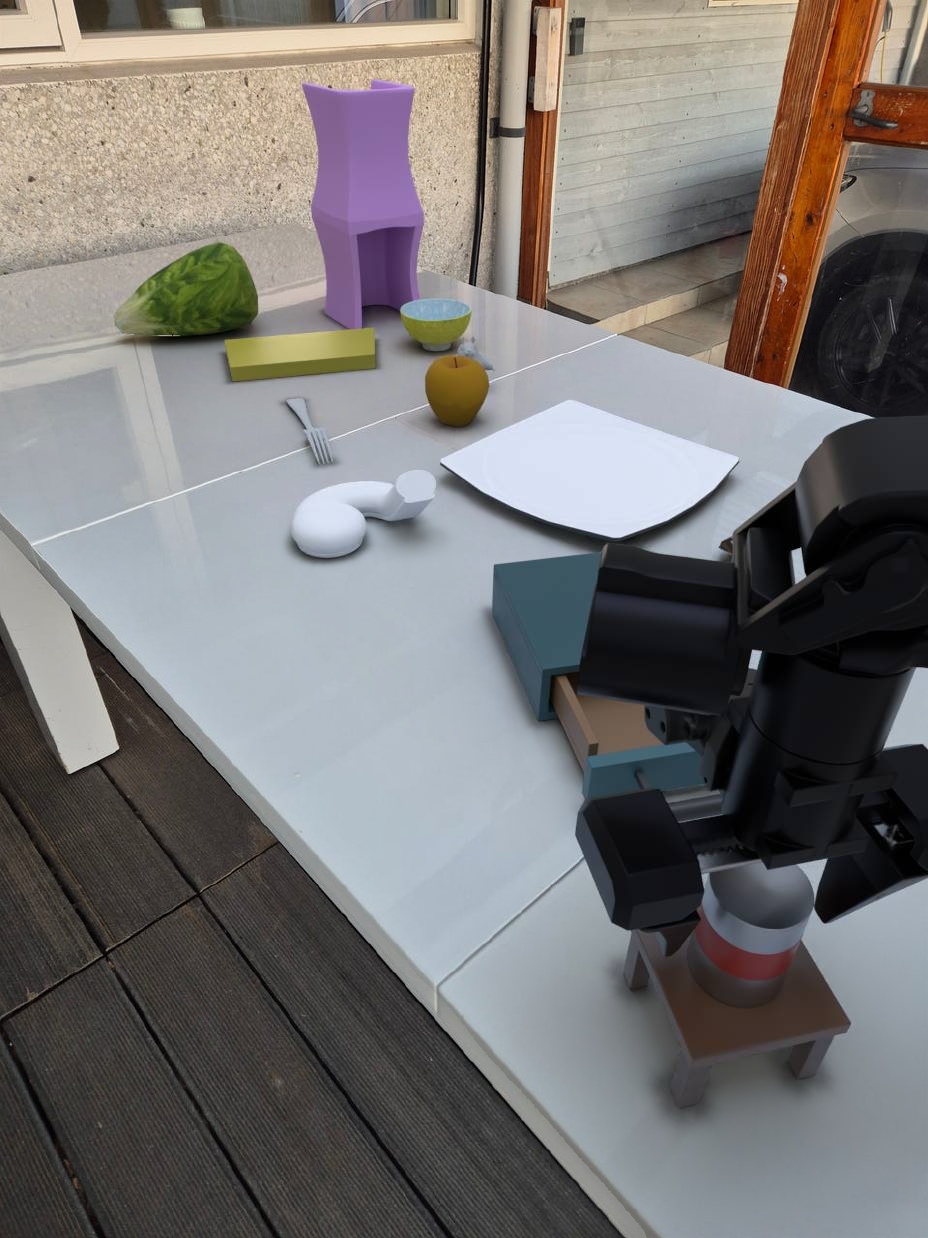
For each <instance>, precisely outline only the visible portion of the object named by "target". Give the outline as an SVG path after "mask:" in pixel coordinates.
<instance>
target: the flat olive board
mask: <svg viewBox="0 0 928 1238" xmlns="http://www.w3.org/2000/svg"><path fill="white" fill-rule="evenodd" d="M375 335H376V334H375V326H374V327H373V326H372V327H364V328H363V327H362V328H361V329H340V330H339V329H338V330H328V331H327V330H326V331H325V330H324V331H316V332H315V331H314V332H303V333H292V334H291V333H290V334H279V335H278V334H277V335H268V336H267V335H266V336H256V337H255V336H253V337H243V338H242V337H241V338H232V339H224V341H223V342H224V347H225V353H226V358H227V363H228V367H229V371H230V375H231V380H232V382H243V381H254V380H265V379H274V378H275V379H276V378H286V377H297V376H307V375H317V374H319V375H320V374H329V373H340V372H350V371H360V370H371V369H376V337H375Z"/></svg>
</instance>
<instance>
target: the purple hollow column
mask: <svg viewBox="0 0 928 1238" xmlns="http://www.w3.org/2000/svg"><path fill="white" fill-rule="evenodd" d="M301 87H302V91H303V94H304V98H305V100H306V103H307V106H308V109H309V113H310V116H311V120H312V123H313V128H314V133H315V138H316V139H315V140H316V145H317V150H318V151H317V158H318V159H317V172H316V173H317V174H316V181H315V186H314V191H313V195H312V199H311V204H310V212H311V219H312V222H313V225H314V228H315V231H316V235H317V238H318V241H319V245H320V248H321V252H322V257H323V262H324V268H325V269H324V270H325V280H326V281H325V283H326V284H325V285H326V288H325V289H326V292H325V304H324V314H325V315H326V316H328V317H329V318H331V319H332V320H334V321H335V322H337V323H339V324H340V325H341V326H344V327H345V328H346V329H347V330H349V329H361V328H363V315H362V314H363V313H362V307H366V306H367V307H368V306H373V305H374V306H376V305H378V306H389V307H392V308H394V309H395V310H398V311H399V312H400V309H401V307H402V306H403V305H405V304H406V303H409V302H412V301H415V300H421V298H420V292H419V286H418V276H417V275H418V256H419V250H420V244H421V239H422V235H423V230H424V226H425V213H424V210H423V207H422V204H421V202H420V199H419V196H418V193H417V190H416V187H415V183H414V178H413V175H412V170H411V164H410V163H411V162H410V157H409V133H410V122H411V115H412V114H411V113H412V108H413V102H414V96H415V89H416V87H414V86H412V85H408V84H403V83H398V82H392V81H390V80H389V81H387V80H384V79H371V81H370V89H359V90H357V89H356V90H355V89H353V90H351V89H350V90H348V89H336V88H332V87H326V86H323V85H318V84H314V83H310V82H305V83H304V82H303V83H301Z"/></svg>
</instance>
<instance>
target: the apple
mask: <svg viewBox="0 0 928 1238" xmlns="http://www.w3.org/2000/svg"><path fill="white" fill-rule="evenodd" d="M489 389H490V380H489V376H488V374H487V370H485V369H484V368H483V367H482V366H481V364H480V363H479V362H478V361H476V360H474V359H471V358H468V357H465V356H456V355H442V356H440V357H438V358H437V359H435V360H433V361H432V363H431V364H430V365H429V367H428V369H427V371H426V373H425V376H424V391H425V395H426V398H427V402H428V404H429V407H430V408H431V410H432V412H433V414H434V415H435V417H436V418H437V419H438V421H439V422H441V423H442V424H444V425H447V426H451V427H463V426H465V425H468V424H469V423H471V422H472V421H473V420H474V418H476V417H477V415H478V413H479V412H480V410H481V408H482V406H483V405H484V403H485V401H486V399H487V396H488V393H489Z"/></svg>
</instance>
